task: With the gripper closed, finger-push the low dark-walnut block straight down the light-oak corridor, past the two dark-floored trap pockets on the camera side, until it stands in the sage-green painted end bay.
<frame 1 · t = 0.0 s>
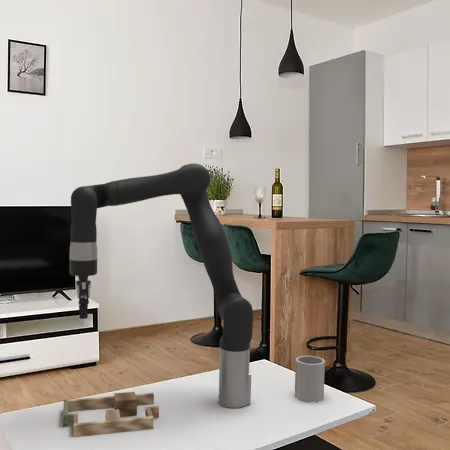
hand: (83, 315, 148), 29 cm above the table, fingers open, 8 cm apart
cup: (309, 397, 168), on the table
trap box: (109, 413, 152), on the table
walnut block: (125, 413, 153), resting in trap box
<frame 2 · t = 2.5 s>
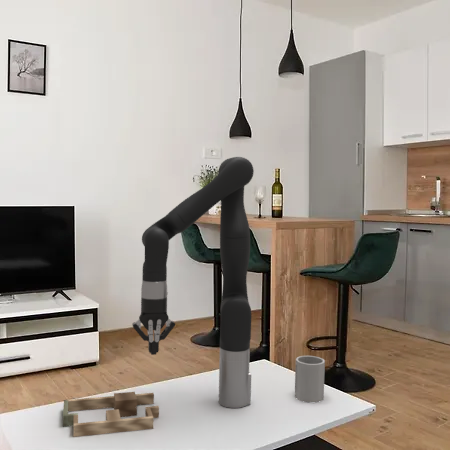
hand: (153, 353, 154), 17 cm above the table, fingers closed
nothing on the table moved.
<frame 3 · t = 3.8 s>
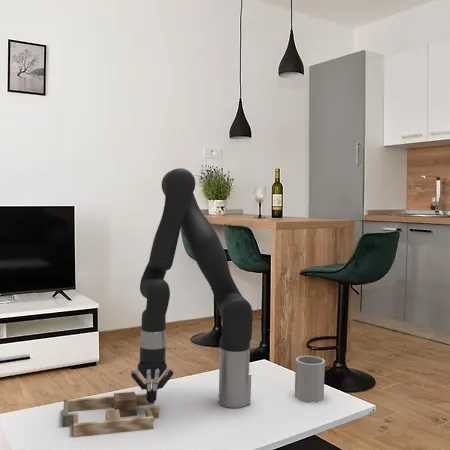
hand: (151, 402, 155), 2 cm above the table, fingers closed
nothing on the table moved.
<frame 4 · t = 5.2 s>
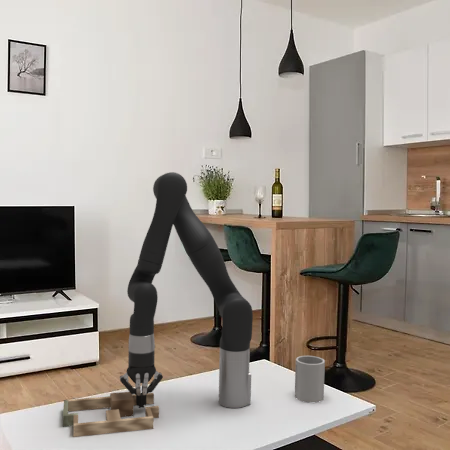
hand: (141, 406, 154), 1 cm above the table, fingers closed
walnut block: (121, 412, 153), resting in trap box, touching gripper
everything else where it was.
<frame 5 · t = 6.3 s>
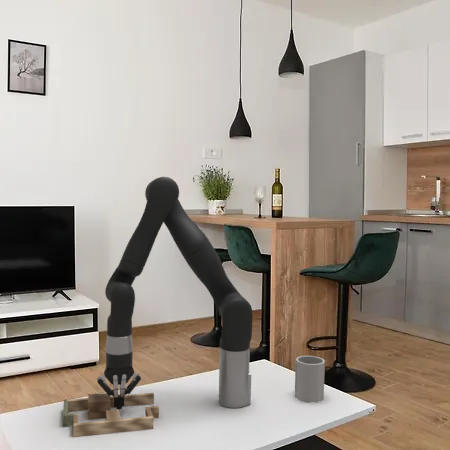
hand: (118, 408, 152), 1 cm above the table, fingers closed
walnut block: (99, 414, 151), resting in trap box, touching gripper
everything else where it was.
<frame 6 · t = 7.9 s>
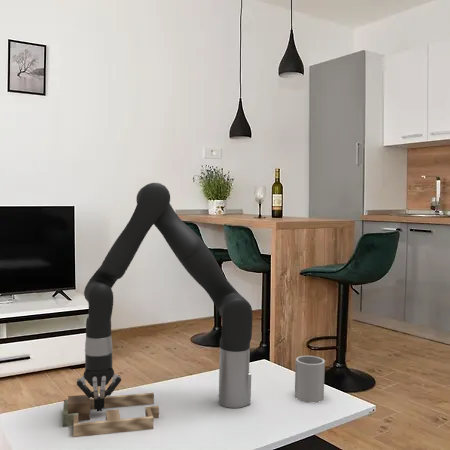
hand: (99, 410, 151), 1 cm above the table, fingers closed
walnut block: (78, 416, 149), resting in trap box, touching gripper
everything else where it was.
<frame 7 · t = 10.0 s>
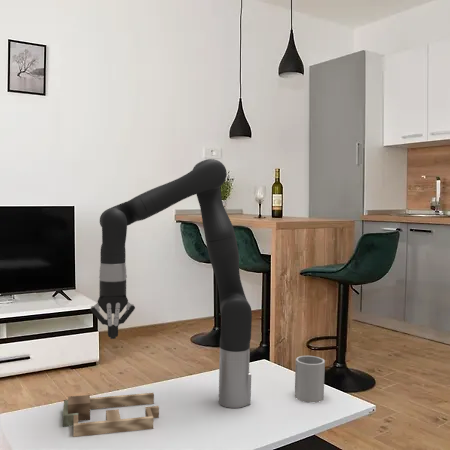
hand: (112, 338, 151), 22 cm above the table, fingers closed
walnut block: (78, 416, 149), resting in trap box
everything else where it was.
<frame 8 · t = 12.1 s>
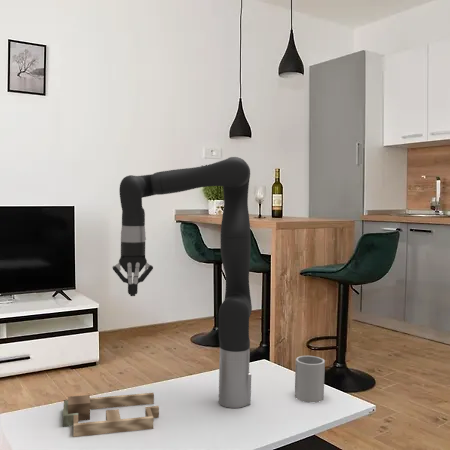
hand: (132, 295, 163), 32 cm above the table, fingers closed
nothing on the table moved.
at the end: walnut block inside the target area (0.8 cm from its centre), resting in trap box; walnut block tilted 0° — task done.
